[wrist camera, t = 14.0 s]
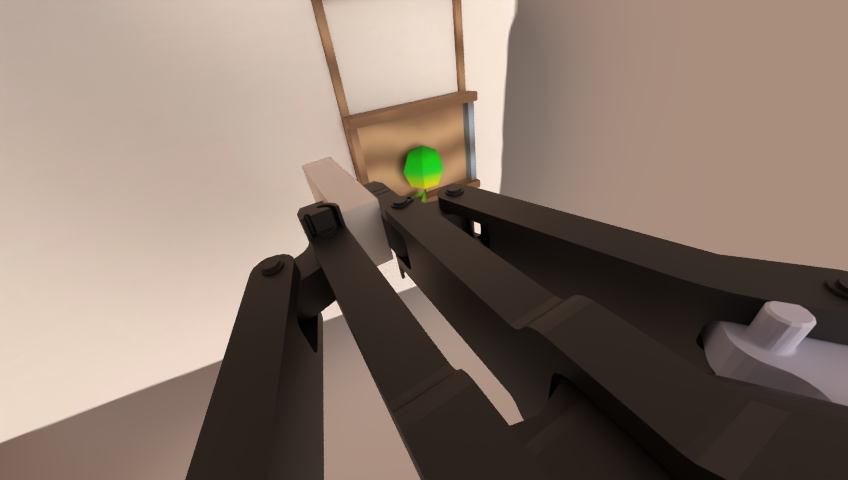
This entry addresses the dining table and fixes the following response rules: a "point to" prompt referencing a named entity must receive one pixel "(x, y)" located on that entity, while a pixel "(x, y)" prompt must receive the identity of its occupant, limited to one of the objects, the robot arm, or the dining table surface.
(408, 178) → the apple
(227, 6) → the dining table surface
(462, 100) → the frame
